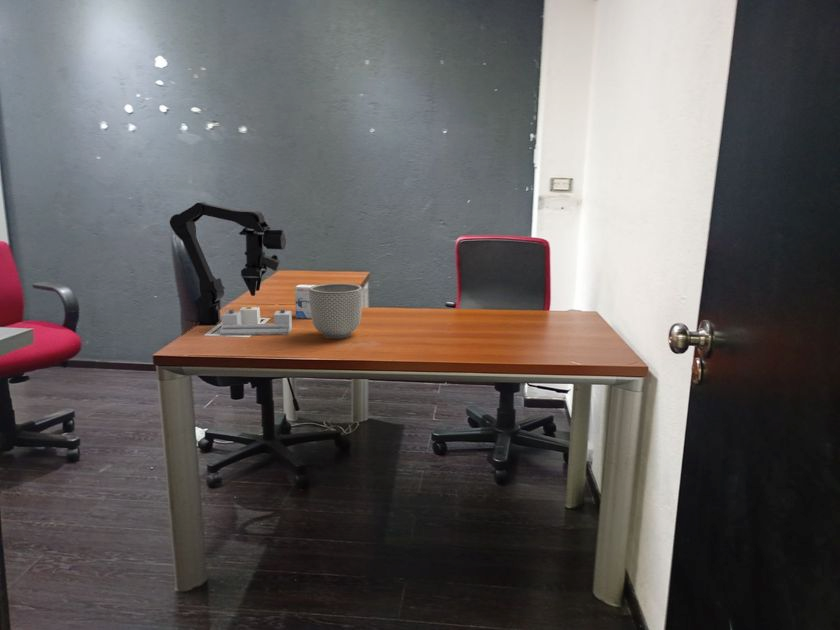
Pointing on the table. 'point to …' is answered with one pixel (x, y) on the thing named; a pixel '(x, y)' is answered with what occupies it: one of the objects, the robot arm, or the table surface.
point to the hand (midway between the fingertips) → (255, 293)
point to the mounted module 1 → (231, 317)
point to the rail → (255, 329)
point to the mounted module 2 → (283, 317)
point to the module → (250, 315)
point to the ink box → (302, 301)
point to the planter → (336, 308)
